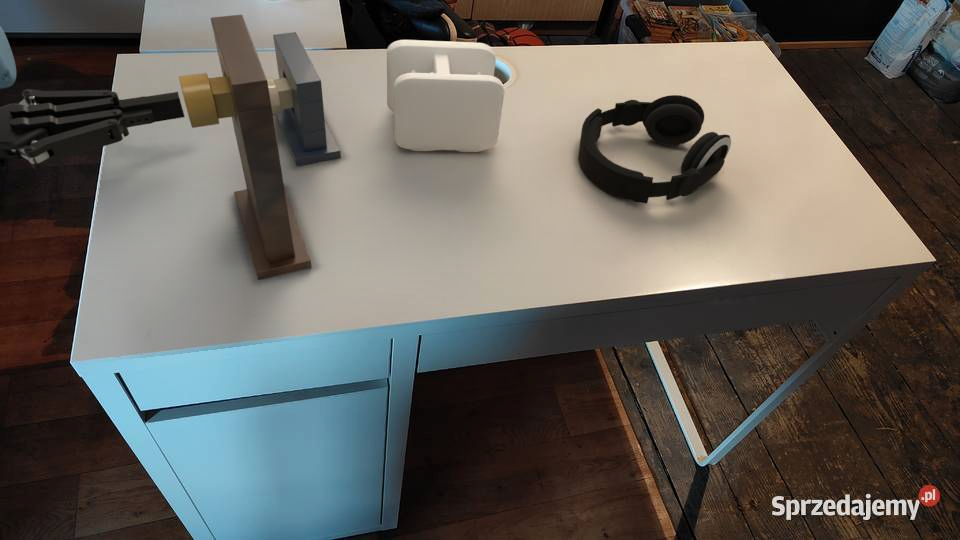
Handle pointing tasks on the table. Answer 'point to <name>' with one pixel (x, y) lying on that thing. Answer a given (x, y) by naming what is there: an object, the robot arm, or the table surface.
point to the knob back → (280, 94)
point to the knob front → (206, 99)
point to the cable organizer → (443, 95)
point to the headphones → (664, 124)
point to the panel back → (303, 105)
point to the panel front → (258, 156)
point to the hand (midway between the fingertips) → (181, 104)
